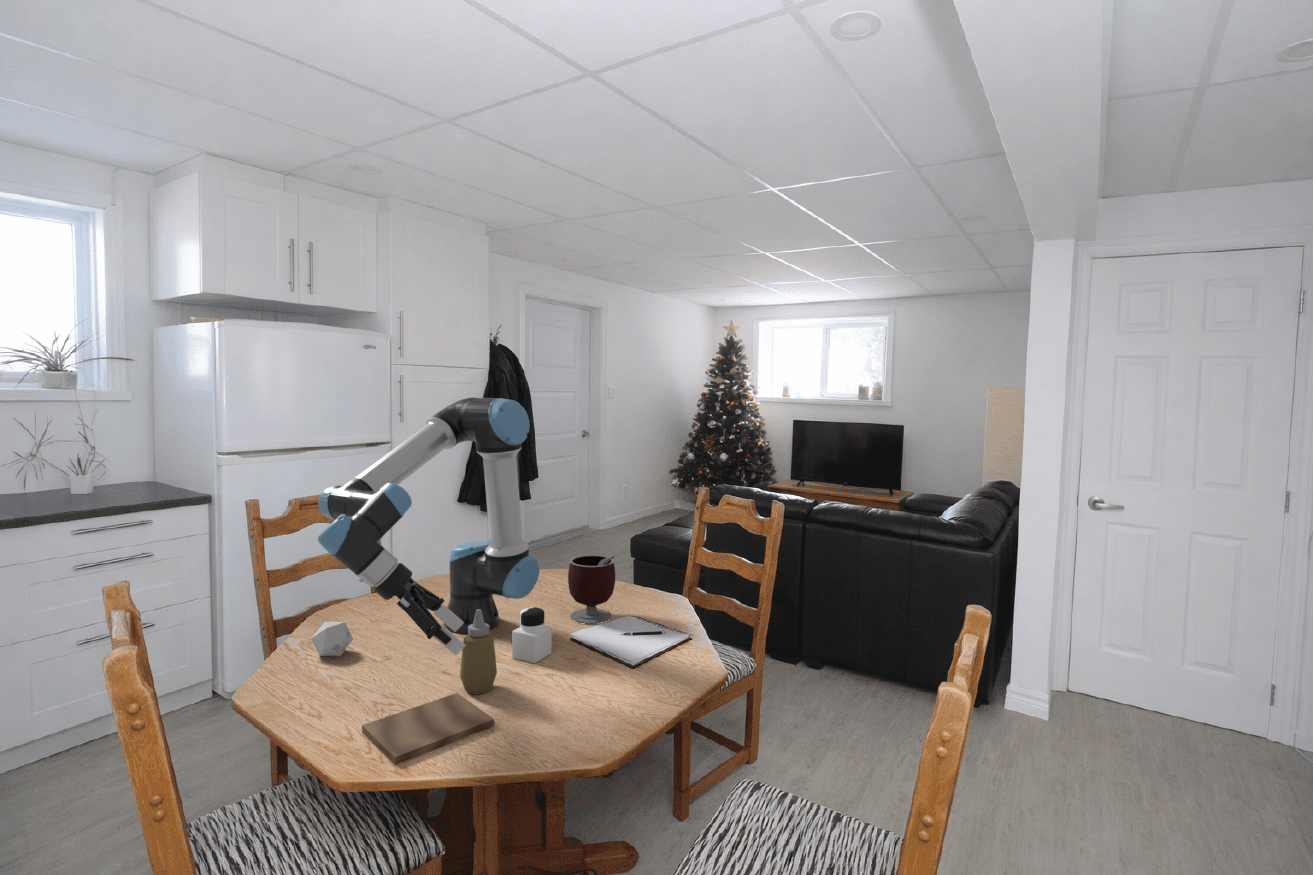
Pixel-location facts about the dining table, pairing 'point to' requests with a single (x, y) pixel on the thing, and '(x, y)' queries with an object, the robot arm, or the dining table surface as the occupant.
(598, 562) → the mate gourd
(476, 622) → the squeeze bottle
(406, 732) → the walnut board
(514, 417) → the robot arm
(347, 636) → the die
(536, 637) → the medicine bottle
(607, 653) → the dining table surface
